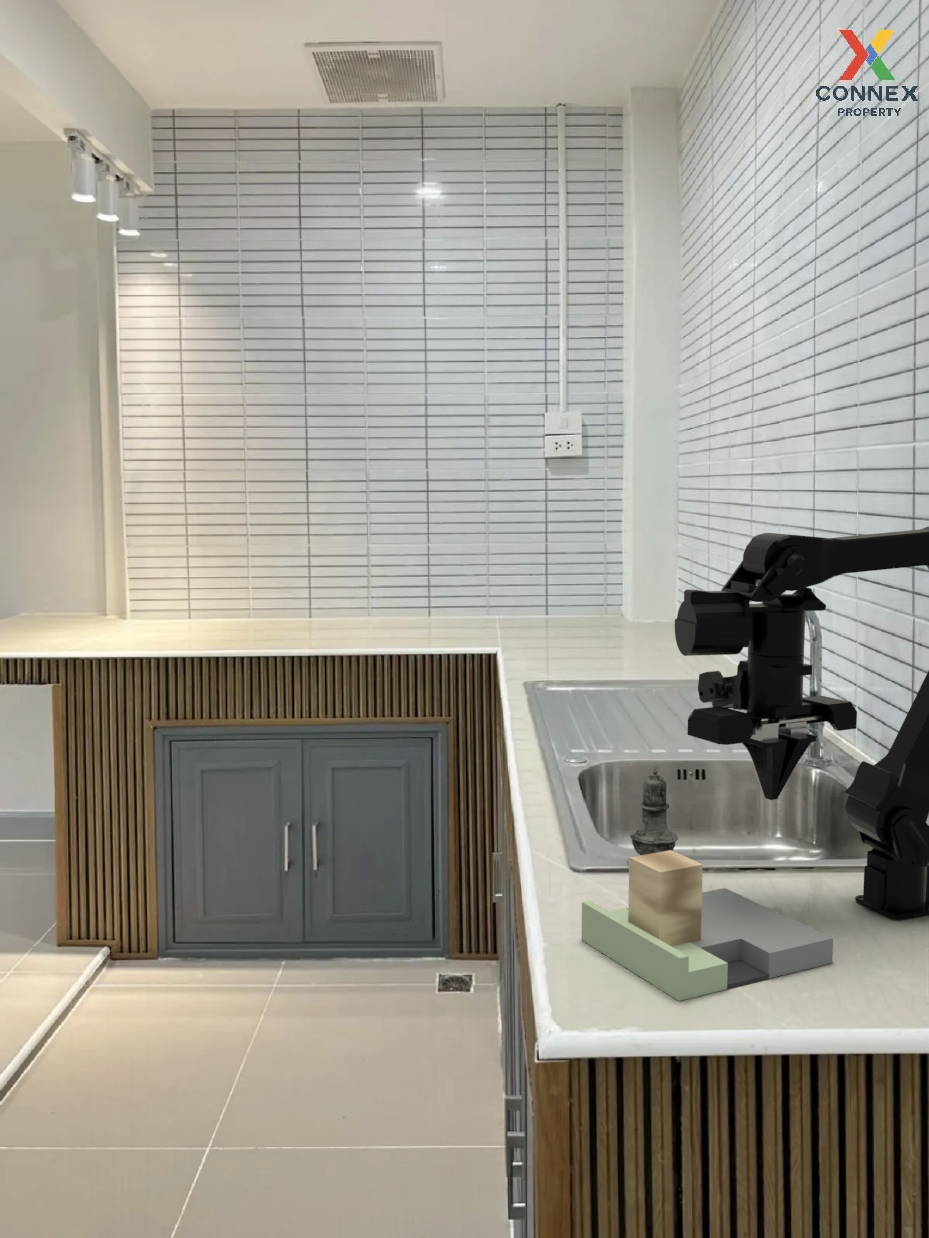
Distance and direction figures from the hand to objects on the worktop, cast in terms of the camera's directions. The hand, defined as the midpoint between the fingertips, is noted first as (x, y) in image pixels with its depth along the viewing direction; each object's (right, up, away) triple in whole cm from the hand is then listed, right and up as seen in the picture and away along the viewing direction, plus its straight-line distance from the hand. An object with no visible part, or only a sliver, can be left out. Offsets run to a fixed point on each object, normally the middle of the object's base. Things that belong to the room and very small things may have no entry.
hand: (771, 798), depth 124 cm
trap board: (-9, -14, -8) cm, 18 cm away
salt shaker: (-9, -11, +19) cm, 24 cm away
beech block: (-13, -12, -10) cm, 20 cm away
